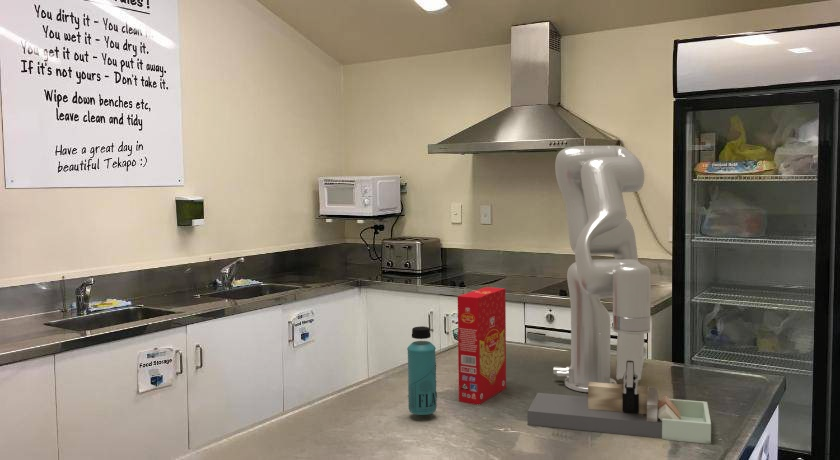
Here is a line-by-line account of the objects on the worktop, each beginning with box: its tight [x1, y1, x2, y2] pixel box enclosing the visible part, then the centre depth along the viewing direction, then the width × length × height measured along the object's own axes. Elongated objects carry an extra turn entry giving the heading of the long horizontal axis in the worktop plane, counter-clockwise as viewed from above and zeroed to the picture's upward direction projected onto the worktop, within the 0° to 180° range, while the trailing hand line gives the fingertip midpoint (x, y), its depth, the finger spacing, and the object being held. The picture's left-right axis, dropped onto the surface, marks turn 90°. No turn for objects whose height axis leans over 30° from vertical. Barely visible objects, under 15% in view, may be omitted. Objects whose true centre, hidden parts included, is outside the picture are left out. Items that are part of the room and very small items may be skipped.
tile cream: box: [658, 404, 680, 421], centre depth 144 cm, size 4×4×2 cm
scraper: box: [587, 382, 659, 422], centre depth 149 cm, size 14×12×5 cm
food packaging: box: [457, 286, 507, 406], centre depth 170 cm, size 15×5×25 cm, turn 148°
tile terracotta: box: [658, 395, 681, 419], centre depth 149 cm, size 4×4×2 cm
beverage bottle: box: [406, 325, 438, 416], centre depth 155 cm, size 6×7×20 cm
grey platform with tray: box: [526, 392, 712, 445], centre depth 150 cm, size 36×14×4 cm, turn 71°
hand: (630, 408), depth 149 cm, fingers closed on scraper, 3 cm apart
